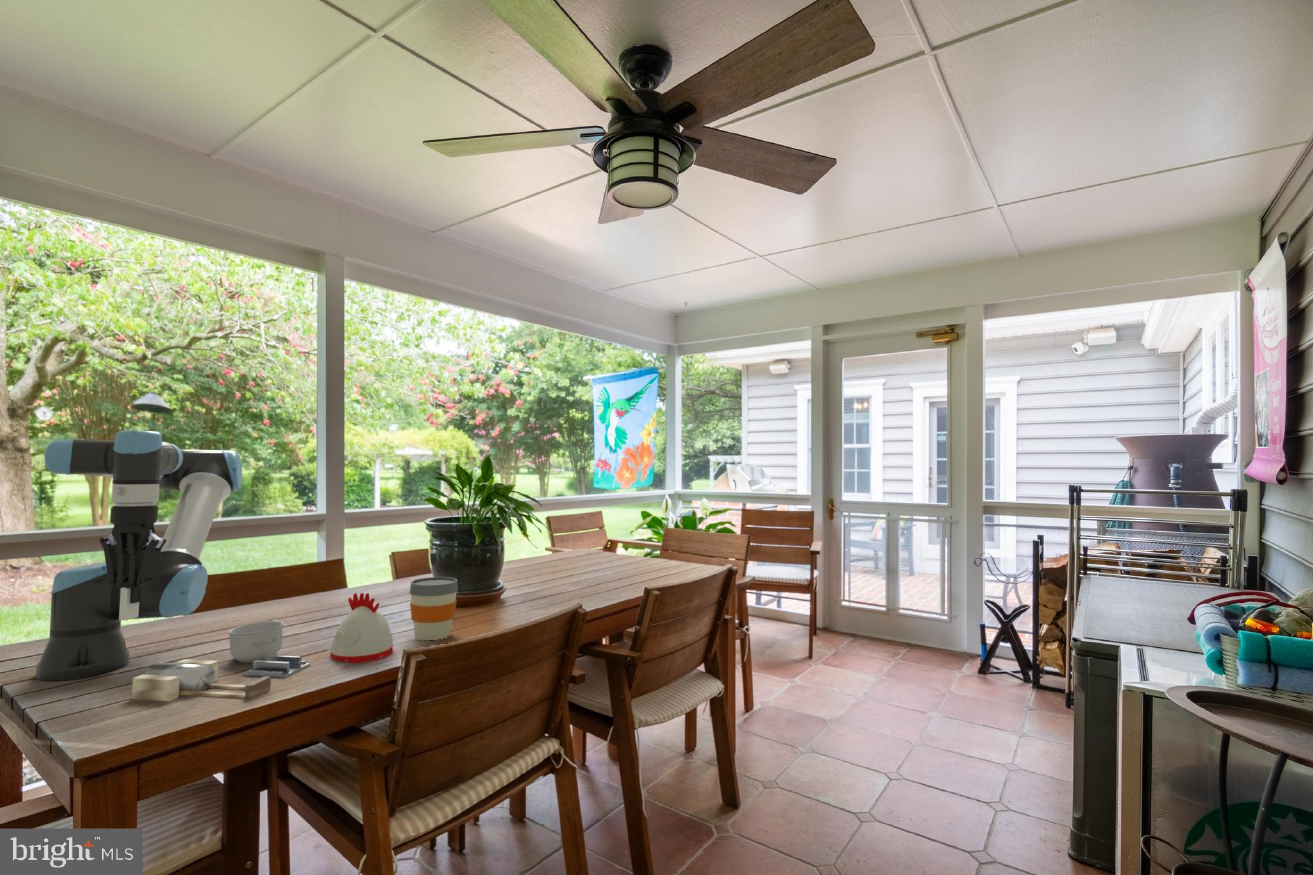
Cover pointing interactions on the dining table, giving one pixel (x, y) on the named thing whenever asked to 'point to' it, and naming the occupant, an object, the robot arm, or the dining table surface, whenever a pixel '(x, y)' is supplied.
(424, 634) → the reusable coffee cup
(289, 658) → the v block
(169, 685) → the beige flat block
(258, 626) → the teacup
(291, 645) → the dining table surface
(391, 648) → the kitchen timer
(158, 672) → the axle
